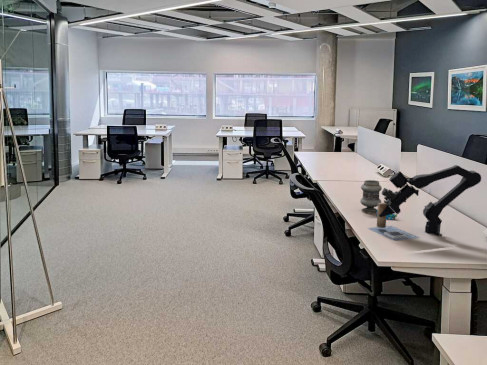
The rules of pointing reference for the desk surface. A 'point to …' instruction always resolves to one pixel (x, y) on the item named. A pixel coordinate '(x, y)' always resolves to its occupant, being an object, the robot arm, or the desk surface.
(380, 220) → the tan wooden peg
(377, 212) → the blue virus model
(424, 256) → the desk surface
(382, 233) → the board
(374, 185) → the apothecary jar
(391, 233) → the metal collar
